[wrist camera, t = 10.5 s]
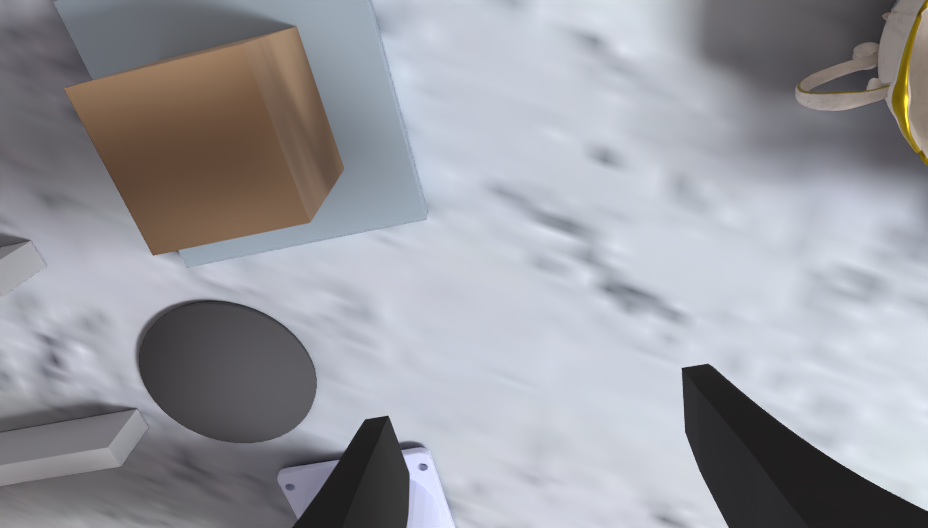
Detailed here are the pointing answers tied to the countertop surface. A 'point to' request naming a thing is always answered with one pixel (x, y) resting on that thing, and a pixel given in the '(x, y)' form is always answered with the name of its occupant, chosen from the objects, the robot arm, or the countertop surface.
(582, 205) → the countertop surface
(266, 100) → the walnut cube
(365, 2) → the board
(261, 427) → the hole mat
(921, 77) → the chinaware
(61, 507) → the countertop surface
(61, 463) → the grey flat u-shaped piece
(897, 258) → the countertop surface
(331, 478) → the robot arm
